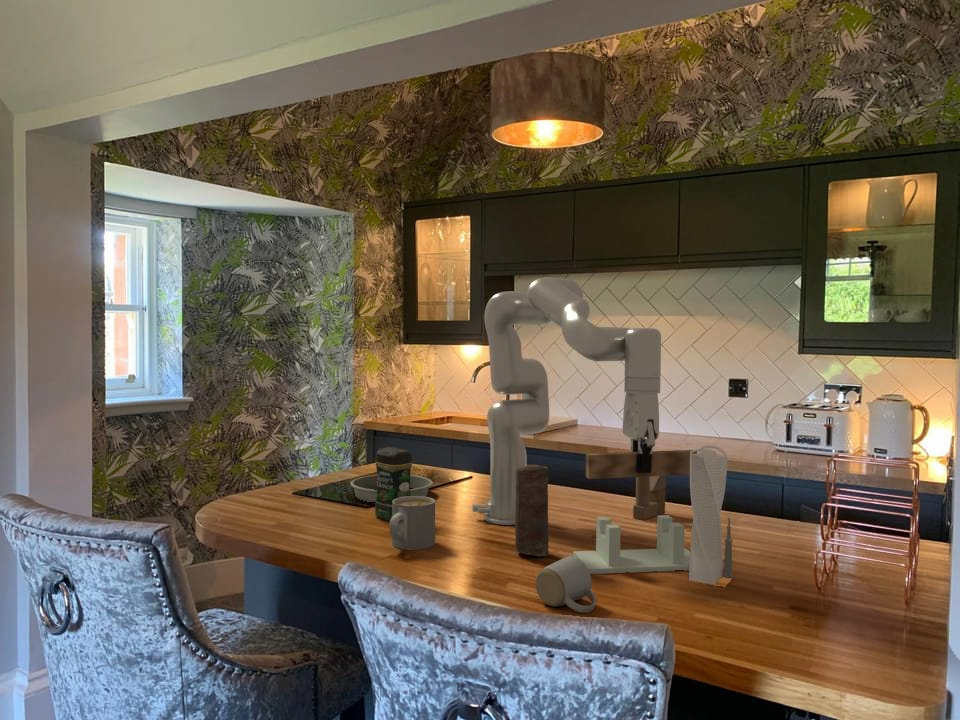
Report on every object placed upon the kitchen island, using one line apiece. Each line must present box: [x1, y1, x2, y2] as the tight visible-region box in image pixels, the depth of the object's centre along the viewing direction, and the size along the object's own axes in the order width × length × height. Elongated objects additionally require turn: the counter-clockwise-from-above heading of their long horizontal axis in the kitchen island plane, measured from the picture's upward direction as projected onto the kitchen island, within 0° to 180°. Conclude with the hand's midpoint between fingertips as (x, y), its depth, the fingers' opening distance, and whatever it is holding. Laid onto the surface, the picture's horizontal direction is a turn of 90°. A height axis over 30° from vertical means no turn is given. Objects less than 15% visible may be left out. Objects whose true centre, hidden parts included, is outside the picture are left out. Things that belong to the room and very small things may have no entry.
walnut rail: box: [585, 449, 698, 480], centre depth 154 cm, size 24×2×5 cm, turn 98°
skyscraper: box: [688, 445, 733, 585], centre depth 144 cm, size 8×8×28 cm
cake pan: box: [349, 474, 434, 504], centre depth 216 cm, size 25×25×4 cm
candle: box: [514, 463, 549, 557], centre depth 160 cm, size 8×7×20 cm
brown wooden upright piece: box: [632, 476, 667, 521], centre depth 195 cm, size 4×11×18 cm, turn 135°
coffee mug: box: [388, 496, 436, 551], centre depth 166 cm, size 13×10×10 cm
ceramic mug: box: [535, 555, 597, 614], centre depth 131 cm, size 11×8×8 cm
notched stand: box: [572, 514, 690, 575], centre depth 155 cm, size 26×12×9 cm, turn 98°
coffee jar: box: [374, 446, 413, 521], centre depth 190 cm, size 10×8×19 cm
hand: (641, 470), depth 154 cm, fingers closed on walnut rail, 2 cm apart
